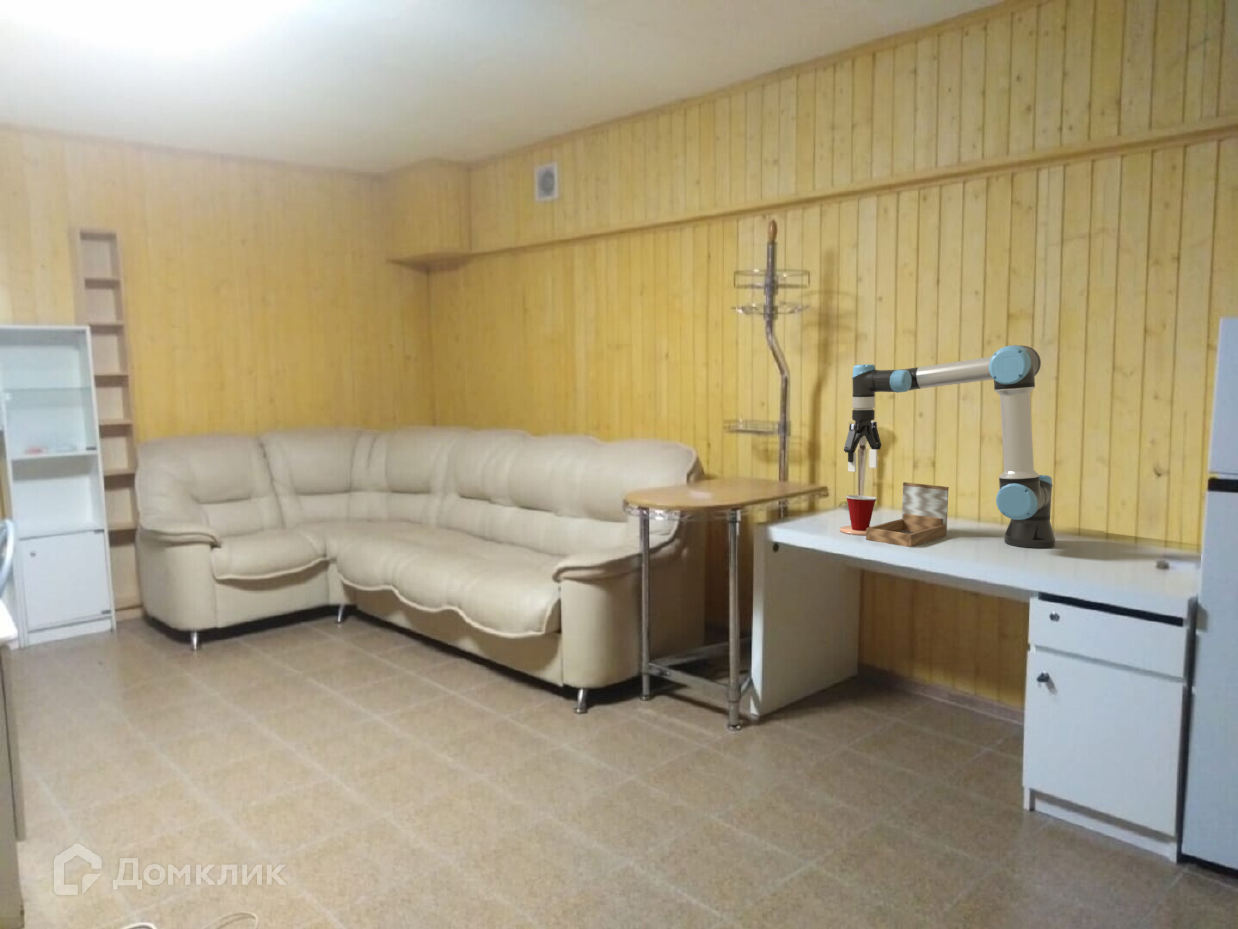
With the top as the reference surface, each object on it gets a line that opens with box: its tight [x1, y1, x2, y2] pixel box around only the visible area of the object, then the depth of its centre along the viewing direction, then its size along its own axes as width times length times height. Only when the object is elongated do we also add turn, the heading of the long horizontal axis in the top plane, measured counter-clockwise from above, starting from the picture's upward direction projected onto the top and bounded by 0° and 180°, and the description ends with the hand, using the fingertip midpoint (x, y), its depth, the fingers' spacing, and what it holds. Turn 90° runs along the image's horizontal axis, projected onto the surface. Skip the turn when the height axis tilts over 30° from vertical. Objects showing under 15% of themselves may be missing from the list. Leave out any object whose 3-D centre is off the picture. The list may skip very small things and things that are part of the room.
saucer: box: [839, 525, 872, 537], centre depth 312 cm, size 14×14×1 cm
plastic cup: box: [845, 494, 878, 531], centre depth 311 cm, size 11×11×12 cm
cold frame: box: [865, 481, 949, 548], centre depth 300 cm, size 16×24×17 cm
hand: (862, 469), depth 309 cm, fingers open, 13 cm apart
